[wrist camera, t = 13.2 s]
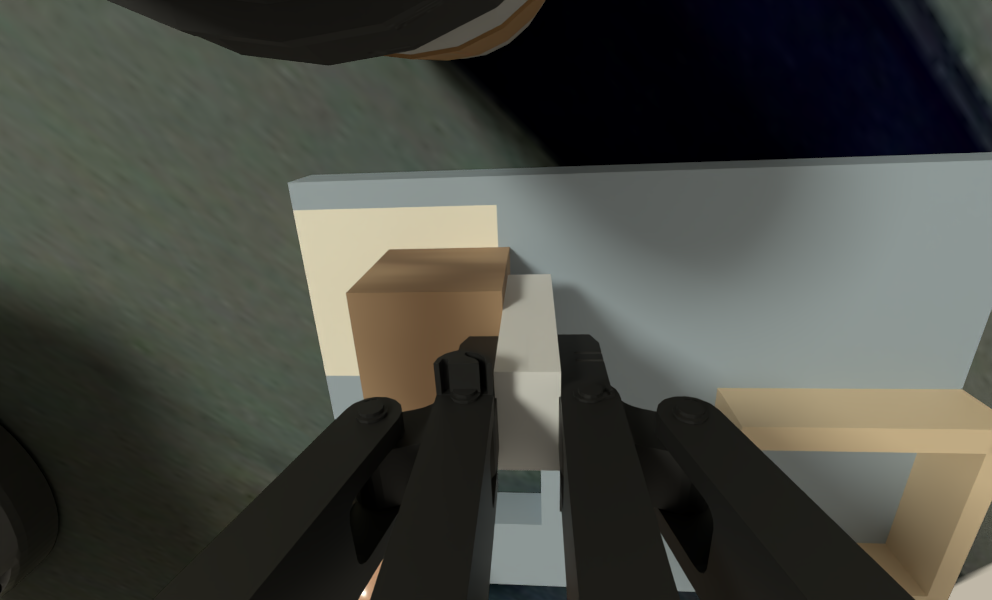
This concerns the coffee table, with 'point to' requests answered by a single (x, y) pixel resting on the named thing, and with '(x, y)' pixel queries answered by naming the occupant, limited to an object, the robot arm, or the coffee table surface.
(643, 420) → the robot arm
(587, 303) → the board
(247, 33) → the coffee cup
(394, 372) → the walnut cube
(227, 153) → the coffee table surface
